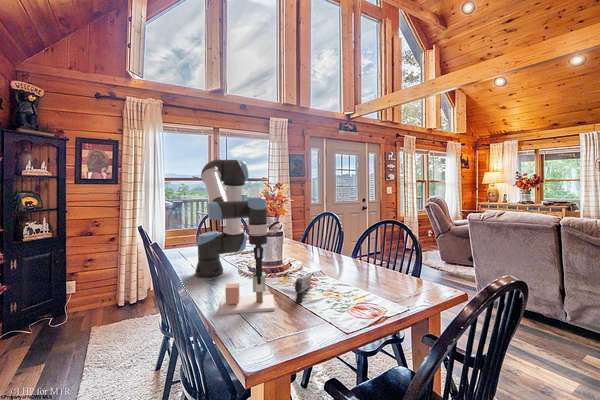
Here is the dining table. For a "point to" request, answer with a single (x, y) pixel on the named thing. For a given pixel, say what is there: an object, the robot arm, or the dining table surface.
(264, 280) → the pale green block
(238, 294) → the stand
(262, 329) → the dining table surface
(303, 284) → the grey curved bar
